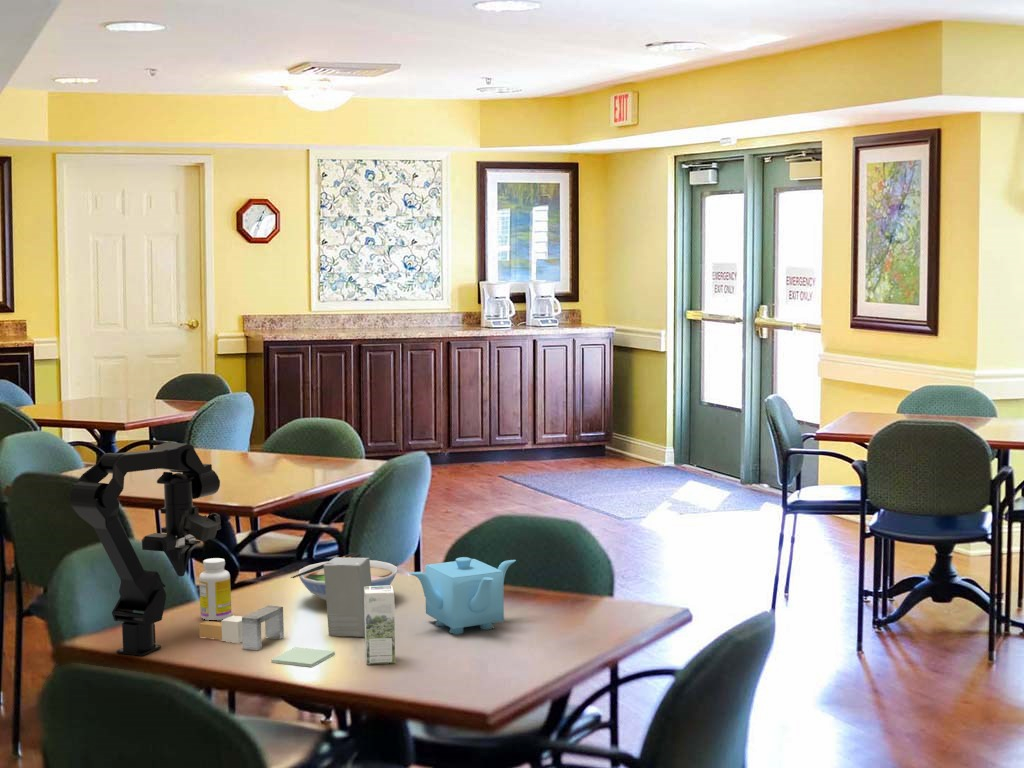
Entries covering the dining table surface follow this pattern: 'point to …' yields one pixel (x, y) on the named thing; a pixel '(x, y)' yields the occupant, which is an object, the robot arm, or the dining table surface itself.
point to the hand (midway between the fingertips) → (181, 576)
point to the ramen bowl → (314, 573)
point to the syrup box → (379, 624)
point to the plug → (223, 629)
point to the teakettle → (464, 593)
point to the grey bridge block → (253, 626)
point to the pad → (303, 656)
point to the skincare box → (346, 595)
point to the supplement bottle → (215, 590)
